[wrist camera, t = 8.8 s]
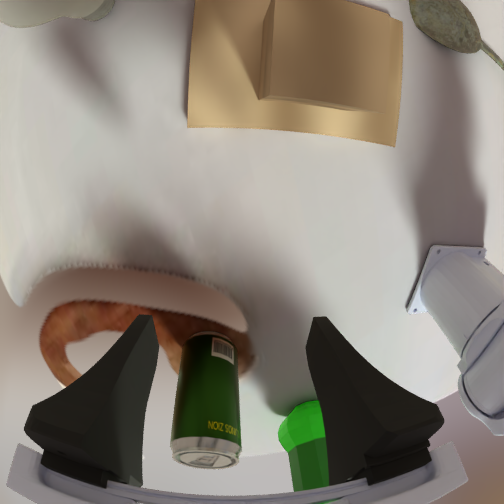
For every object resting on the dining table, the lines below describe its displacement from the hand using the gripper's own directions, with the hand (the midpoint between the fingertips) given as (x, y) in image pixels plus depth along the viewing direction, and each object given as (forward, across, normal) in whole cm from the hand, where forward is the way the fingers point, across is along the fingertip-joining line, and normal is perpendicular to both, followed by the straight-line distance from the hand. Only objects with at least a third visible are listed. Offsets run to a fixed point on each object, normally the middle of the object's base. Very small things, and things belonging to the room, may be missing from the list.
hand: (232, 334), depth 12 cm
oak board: (+10, -4, -13) cm, 17 cm away
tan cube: (+9, -4, -13) cm, 16 cm away
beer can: (+10, +2, +12) cm, 16 cm away
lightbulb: (+10, +10, -18) cm, 23 cm away
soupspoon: (+11, -23, -19) cm, 32 cm away
